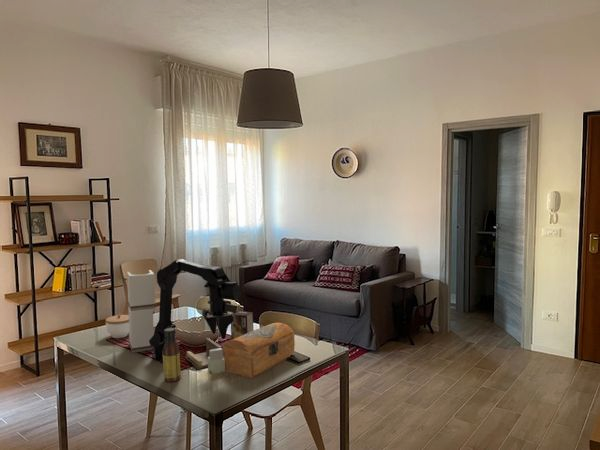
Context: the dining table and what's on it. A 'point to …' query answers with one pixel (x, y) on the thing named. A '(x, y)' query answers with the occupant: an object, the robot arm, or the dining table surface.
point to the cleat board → (202, 355)
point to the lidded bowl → (118, 325)
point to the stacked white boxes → (141, 310)
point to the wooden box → (259, 350)
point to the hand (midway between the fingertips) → (218, 336)
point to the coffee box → (241, 324)
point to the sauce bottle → (171, 356)
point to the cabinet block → (216, 361)
